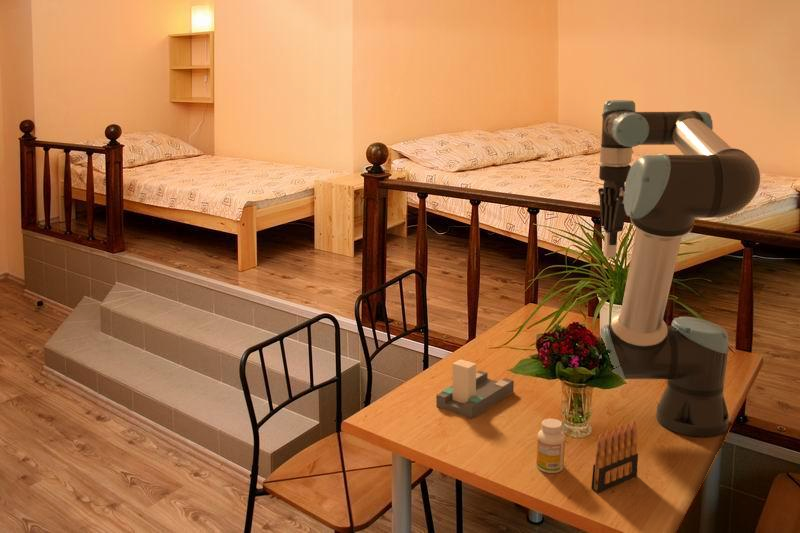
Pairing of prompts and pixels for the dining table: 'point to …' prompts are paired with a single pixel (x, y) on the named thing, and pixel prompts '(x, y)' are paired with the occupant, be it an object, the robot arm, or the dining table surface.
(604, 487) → the ammunition clip
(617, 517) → the dining table surface
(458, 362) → the switch tab
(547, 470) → the supplement bottle
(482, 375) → the switch base
